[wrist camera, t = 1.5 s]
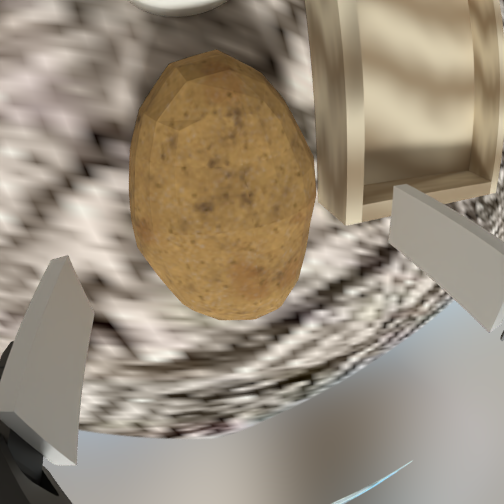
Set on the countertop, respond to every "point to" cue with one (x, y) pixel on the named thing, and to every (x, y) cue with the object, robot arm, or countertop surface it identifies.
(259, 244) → the potato
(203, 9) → the white rounded piece
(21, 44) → the countertop surface
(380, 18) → the tray
